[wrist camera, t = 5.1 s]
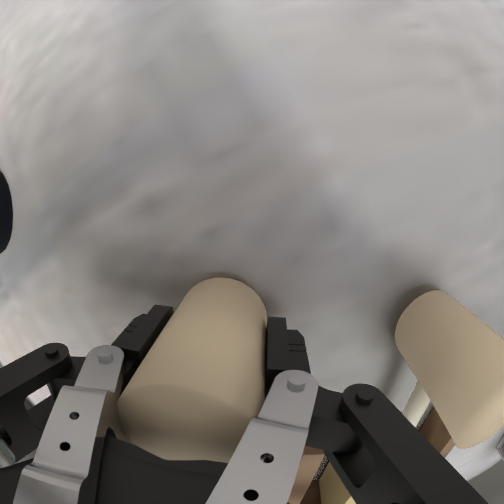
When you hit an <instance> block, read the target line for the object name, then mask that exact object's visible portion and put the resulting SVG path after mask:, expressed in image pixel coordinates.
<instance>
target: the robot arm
mask: <svg viewBox="0 0 504 504" xmlns="http://www.w3.org/2000/svg"><path fill="white" fill-rule="evenodd" d="M173 314H174V311H173V308H172V307H170V306H162V305H154V306H153V308H152V309H151V310H150V311H149V312H148V314H142V315H140V316H138V317H136V318H134V319H133V320H132V321H131V323H130V324H129V326H127V327H126V328H125V329H124V331H123V332H122V333H121V334H120V335H119V336H118V338H117V339H116V340H115V341H114V342H113V343H112V345H103V346H99V347H96V348H94V349H92V350H91V351H90V352H89V353H88V355H87V357H74V356H70V353H69V350H68V348H67V346H65V345H64V344H61V343H50V344H46V345H44V346H42V347H40V348H38V349H36V350H34V351H32V352H30V353H29V354H27V355H25V356H23V357H21V358H19V359H17V360H15V361H13V362H12V363H10V364H8V365H6V366H4V367H2V368H0V504H290V503H289V502H288V499H289V496H290V493H291V490H292V487H293V484H294V481H295V477H296V474H297V471H298V468H299V464H300V461H301V457H302V454H303V450H304V447H305V446H308V447H312V448H317V449H321V450H323V451H324V453H325V455H326V457H327V459H328V460H329V462H330V463H331V465H332V467H333V468H334V470H335V471H336V473H337V475H338V476H339V478H340V479H341V481H342V483H343V484H344V486H345V487H346V489H347V490H348V492H349V494H350V495H351V497H352V498H353V500H354V501H355V503H356V504H488V503H487V502H486V501H485V500H484V499H483V498H482V496H481V495H479V493H478V492H477V491H476V490H475V489H474V488H473V487H472V486H471V485H470V484H469V483H468V482H467V481H466V480H465V479H464V478H463V477H462V476H461V475H460V474H459V473H458V472H457V471H456V469H455V468H454V467H453V466H452V465H451V464H450V463H449V462H448V461H447V460H446V459H445V458H444V457H443V456H442V455H441V454H440V453H439V452H438V451H437V450H436V449H435V448H434V447H433V445H432V444H431V443H430V442H429V441H428V440H427V439H426V438H425V437H424V436H423V435H422V434H421V433H420V432H419V431H418V430H417V429H416V428H415V427H414V426H413V425H412V424H411V422H410V421H409V420H408V419H407V418H406V417H405V416H404V415H403V414H402V413H401V412H400V411H399V410H398V409H397V408H396V407H395V406H394V405H393V404H392V403H391V402H390V400H389V399H388V398H387V397H386V396H385V395H384V394H383V393H382V392H381V391H380V390H379V389H377V388H375V387H374V386H371V385H367V384H354V385H351V386H349V387H347V388H346V389H345V390H344V392H343V393H339V392H334V391H330V390H327V389H324V388H322V387H320V386H319V385H318V381H317V380H316V378H315V377H314V376H313V375H311V372H310V367H309V361H308V356H307V352H306V346H305V341H304V337H303V336H302V334H301V333H300V332H299V331H298V330H287V326H286V318H281V317H268V321H267V337H266V376H265V402H264V404H263V406H262V409H261V411H260V413H259V415H258V417H255V416H254V417H253V418H252V419H251V421H250V423H249V425H248V427H247V429H246V431H245V433H244V435H243V437H242V439H241V441H240V442H239V444H238V446H237V448H236V450H235V452H234V454H233V456H232V458H231V459H230V461H229V463H225V462H217V461H209V460H165V459H162V458H160V457H158V456H156V455H154V454H152V453H150V452H148V451H146V450H144V449H142V448H140V447H138V446H136V445H135V444H133V443H132V442H131V441H130V439H129V438H127V436H126V433H125V431H124V428H123V425H122V423H121V420H120V417H119V412H118V405H117V401H118V399H119V398H120V396H121V394H122V393H123V391H124V390H125V388H126V386H127V385H128V383H129V382H130V380H131V378H132V377H133V375H134V374H135V372H136V370H137V369H138V367H139V366H140V364H141V363H142V361H143V359H144V358H145V356H146V355H147V353H148V352H149V350H150V349H151V347H152V346H153V344H154V342H155V341H156V339H157V338H158V336H159V335H160V333H161V332H162V330H163V329H164V327H165V326H166V324H167V323H168V321H169V320H170V318H171V317H172V315H173ZM46 384H47V386H48V388H49V390H50V393H51V396H49V397H48V398H46V399H45V400H43V401H41V402H40V403H38V404H37V405H35V406H34V407H32V408H31V409H29V410H26V408H25V406H24V401H25V398H26V397H27V396H28V395H30V394H31V393H33V392H34V391H36V390H38V389H39V388H41V387H43V386H44V385H46ZM37 447H38V449H37V452H36V455H35V458H33V459H30V460H26V461H23V462H21V463H17V464H15V463H16V462H18V461H19V460H21V459H22V458H23V457H25V456H26V455H28V454H29V453H31V452H32V451H33V450H35V449H36V448H37Z"/></svg>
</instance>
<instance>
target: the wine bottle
mask: <svg viewBox="0 0 504 504" xmlns="http://www.w3.org/2000/svg"><path fill="white" fill-rule="evenodd" d="M11 229H12V206H11V197H10V193H9V189H8V185H7V183H6V181H5V179H4V176H3V174H2V173H1V172H0V253H1V252H3V251H4V250H5V248H6V246H7V244H8V242H9V239H10V234H11Z"/></svg>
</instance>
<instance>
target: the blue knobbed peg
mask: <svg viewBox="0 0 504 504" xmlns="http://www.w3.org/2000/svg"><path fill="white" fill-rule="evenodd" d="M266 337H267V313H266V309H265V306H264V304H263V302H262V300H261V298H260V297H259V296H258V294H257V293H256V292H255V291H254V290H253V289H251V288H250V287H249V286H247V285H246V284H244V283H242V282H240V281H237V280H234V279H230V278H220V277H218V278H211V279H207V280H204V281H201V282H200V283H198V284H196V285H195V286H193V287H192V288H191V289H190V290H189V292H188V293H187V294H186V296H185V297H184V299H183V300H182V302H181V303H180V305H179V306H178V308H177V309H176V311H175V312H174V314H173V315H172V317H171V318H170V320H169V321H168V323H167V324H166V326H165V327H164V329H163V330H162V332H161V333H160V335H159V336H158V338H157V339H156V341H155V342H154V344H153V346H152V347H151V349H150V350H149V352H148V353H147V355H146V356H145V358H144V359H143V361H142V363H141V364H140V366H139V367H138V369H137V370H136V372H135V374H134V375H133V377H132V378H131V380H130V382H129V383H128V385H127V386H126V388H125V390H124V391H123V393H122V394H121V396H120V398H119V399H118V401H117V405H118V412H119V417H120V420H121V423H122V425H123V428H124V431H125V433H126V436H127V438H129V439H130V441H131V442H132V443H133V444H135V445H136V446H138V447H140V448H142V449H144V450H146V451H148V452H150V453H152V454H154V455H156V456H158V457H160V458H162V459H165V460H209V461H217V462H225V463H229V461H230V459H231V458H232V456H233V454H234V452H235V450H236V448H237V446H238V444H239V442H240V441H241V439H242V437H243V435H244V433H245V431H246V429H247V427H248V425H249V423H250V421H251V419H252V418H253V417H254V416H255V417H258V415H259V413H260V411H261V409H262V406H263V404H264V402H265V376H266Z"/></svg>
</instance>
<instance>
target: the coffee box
mask: <svg viewBox="0 0 504 504" xmlns="http://www.w3.org/2000/svg"><path fill="white" fill-rule="evenodd" d="M496 449H497V451H498V452H499V454H500V456H501V457H502V459H503V461H504V435H503V437H502V439H501V441H500V442H499V444H498V445H497V447H496Z"/></svg>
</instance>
